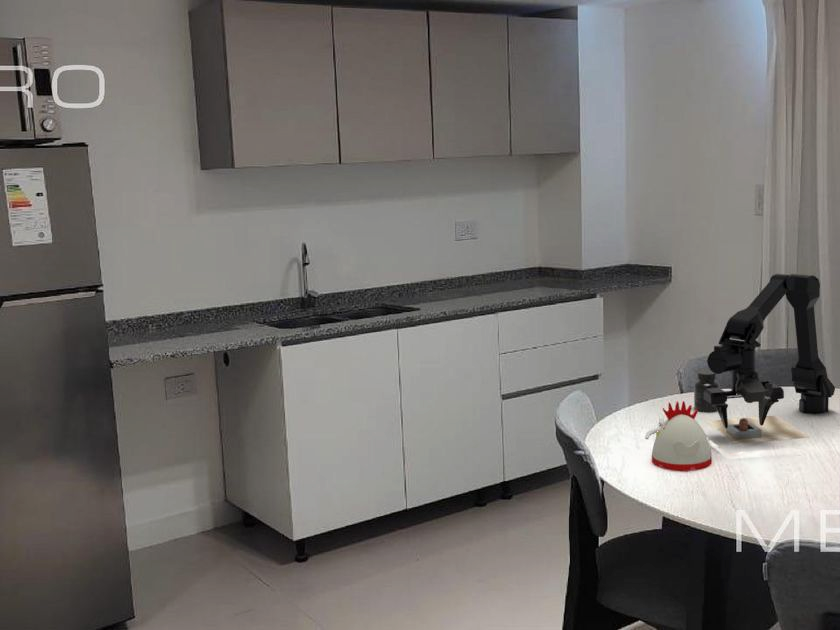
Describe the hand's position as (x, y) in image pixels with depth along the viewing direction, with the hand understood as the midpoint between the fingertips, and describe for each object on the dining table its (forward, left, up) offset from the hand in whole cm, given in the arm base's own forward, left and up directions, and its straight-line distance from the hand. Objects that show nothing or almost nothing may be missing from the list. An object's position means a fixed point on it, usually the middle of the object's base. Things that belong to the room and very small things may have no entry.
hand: (743, 426), depth 241 cm
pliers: (+16, -13, -4) cm, 21 cm away
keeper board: (-5, -4, -4) cm, 7 cm away
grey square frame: (0, 0, -2) cm, 2 cm away
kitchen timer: (+20, +11, -4) cm, 23 cm away
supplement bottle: (0, -25, -4) cm, 25 cm away
